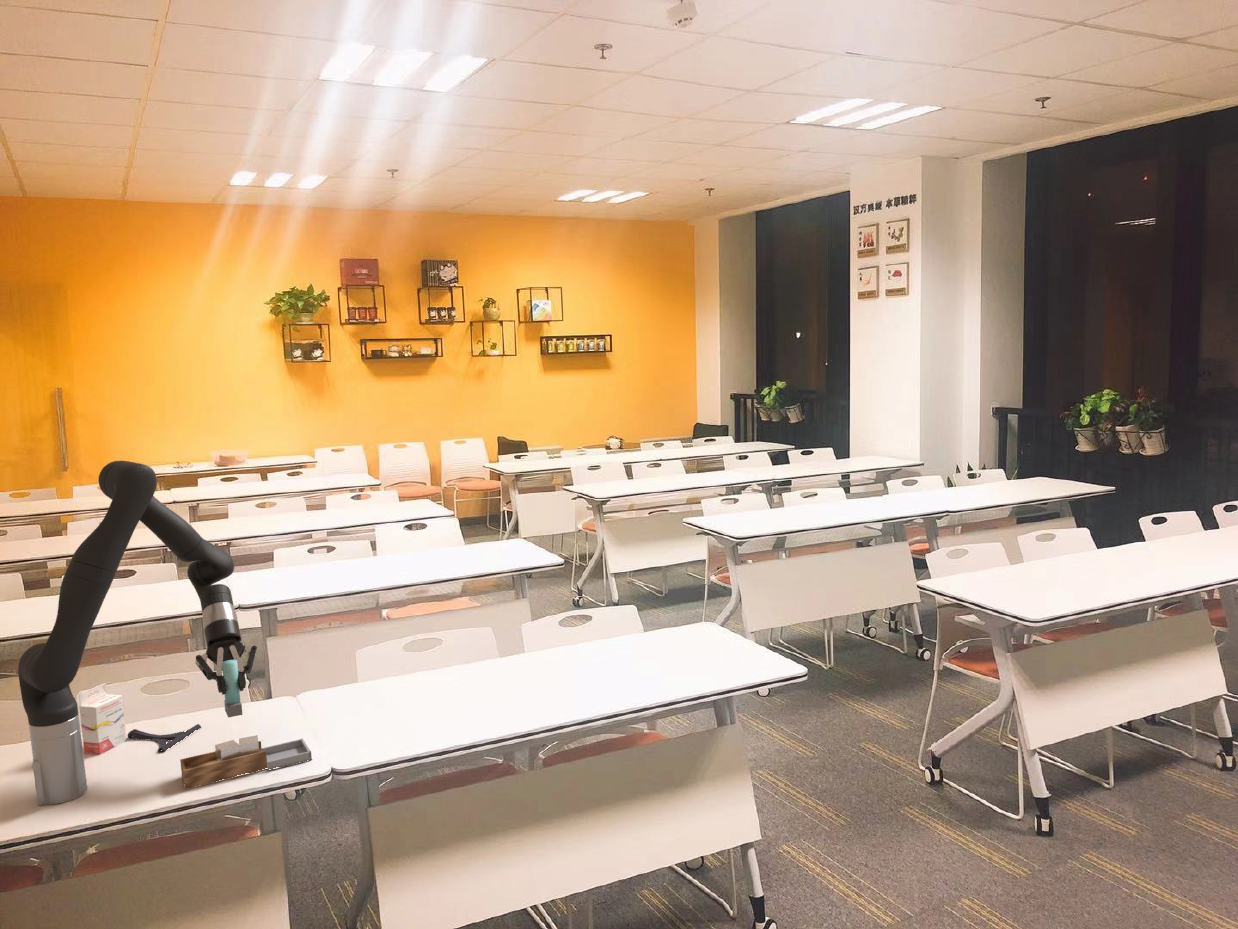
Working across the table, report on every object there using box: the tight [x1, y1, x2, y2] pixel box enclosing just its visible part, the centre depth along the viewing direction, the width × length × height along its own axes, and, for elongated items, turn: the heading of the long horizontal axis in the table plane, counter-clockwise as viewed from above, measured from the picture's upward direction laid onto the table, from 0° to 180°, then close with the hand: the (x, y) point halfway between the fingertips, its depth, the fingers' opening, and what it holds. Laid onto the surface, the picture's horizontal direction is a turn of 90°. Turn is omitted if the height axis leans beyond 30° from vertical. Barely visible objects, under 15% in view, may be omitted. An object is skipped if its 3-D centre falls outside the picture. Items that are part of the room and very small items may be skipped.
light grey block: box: [214, 739, 240, 762], centre depth 213 cm, size 4×4×4 cm
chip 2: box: [238, 734, 259, 757], centre depth 215 cm, size 4×4×4 cm
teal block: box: [222, 660, 243, 718], centre depth 217 cm, size 3×5×12 cm, turn 30°
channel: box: [179, 740, 268, 790], centre depth 213 cm, size 17×7×4 cm, turn 120°
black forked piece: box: [127, 723, 202, 753], centre depth 234 cm, size 14×15×3 cm
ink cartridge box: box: [78, 682, 127, 755], centre depth 230 cm, size 9×5×15 cm, turn 164°
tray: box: [261, 738, 313, 771], centre depth 219 cm, size 10×9×2 cm
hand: (233, 690), depth 215 cm, fingers closed on teal block, 3 cm apart
